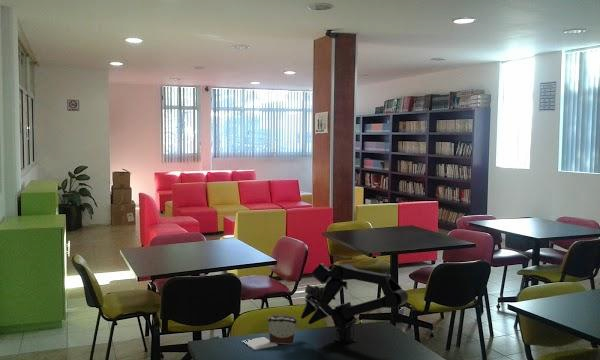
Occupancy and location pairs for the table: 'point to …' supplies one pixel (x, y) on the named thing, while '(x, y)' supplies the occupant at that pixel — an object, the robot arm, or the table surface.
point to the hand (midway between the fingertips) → (305, 320)
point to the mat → (259, 343)
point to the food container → (282, 329)
